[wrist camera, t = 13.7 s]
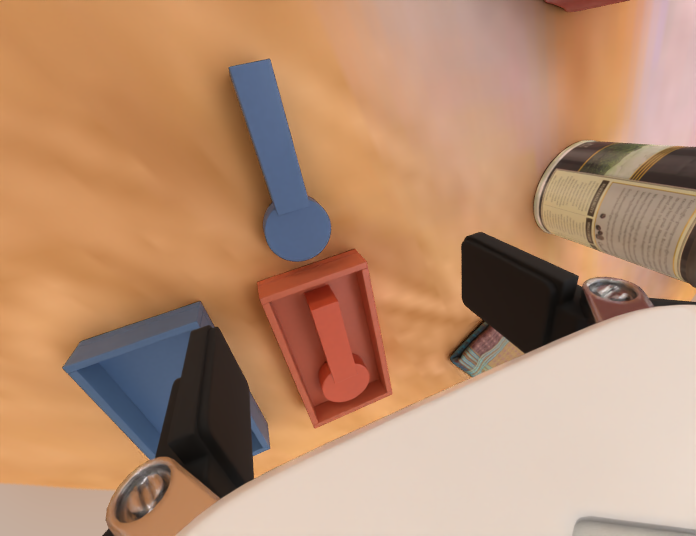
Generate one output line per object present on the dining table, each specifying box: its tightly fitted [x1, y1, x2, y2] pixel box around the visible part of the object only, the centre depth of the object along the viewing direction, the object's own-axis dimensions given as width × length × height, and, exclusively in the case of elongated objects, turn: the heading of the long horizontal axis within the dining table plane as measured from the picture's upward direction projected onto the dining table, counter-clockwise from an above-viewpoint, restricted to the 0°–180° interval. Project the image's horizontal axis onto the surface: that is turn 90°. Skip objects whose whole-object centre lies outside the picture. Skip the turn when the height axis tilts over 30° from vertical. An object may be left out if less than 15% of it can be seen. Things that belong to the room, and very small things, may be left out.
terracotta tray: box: [257, 249, 392, 428], centre depth 30 cm, size 17×9×3 cm, turn 12°
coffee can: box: [534, 140, 696, 288], centre depth 27 cm, size 10×10×14 cm
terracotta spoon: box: [304, 285, 370, 402], centre depth 30 cm, size 14×5×3 cm, turn 12°
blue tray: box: [62, 301, 270, 460], centre depth 27 cm, size 17×9×3 cm, turn 12°
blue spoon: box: [229, 59, 331, 262], centre depth 22 cm, size 14×5×3 cm, turn 12°
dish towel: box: [450, 322, 525, 377], centre depth 43 cm, size 17×23×3 cm
